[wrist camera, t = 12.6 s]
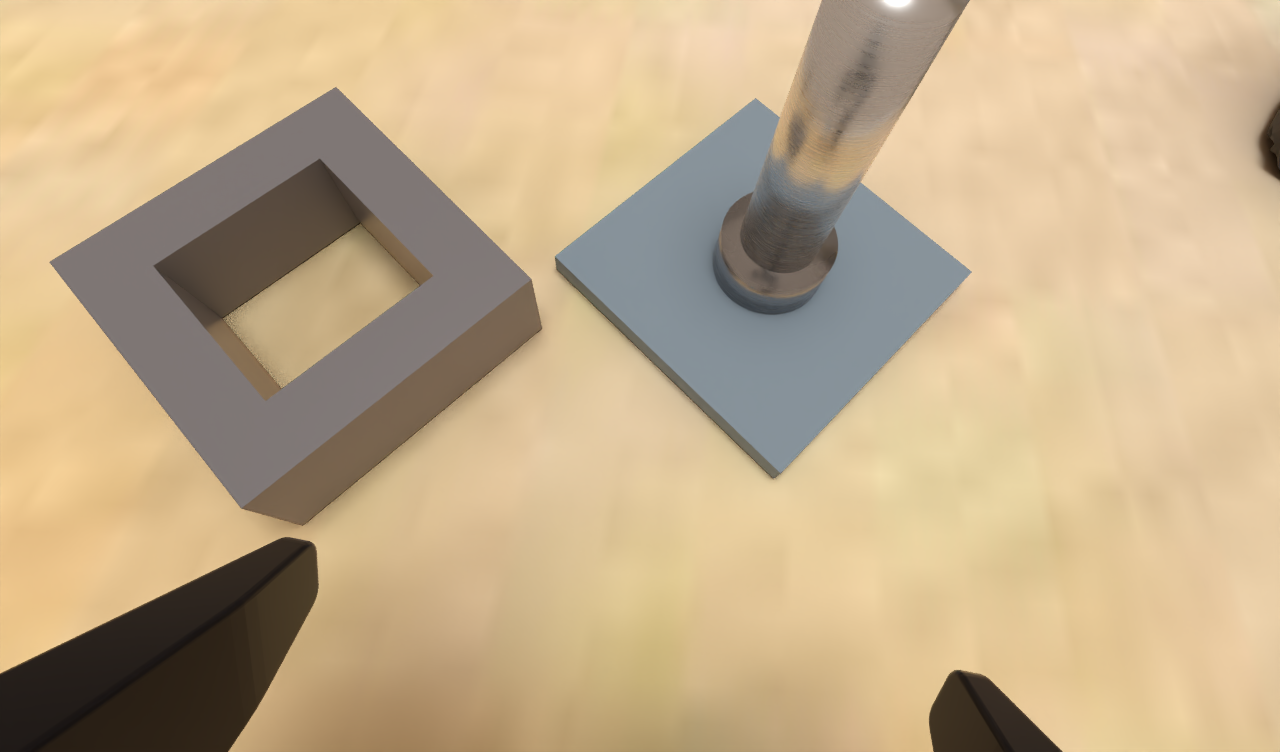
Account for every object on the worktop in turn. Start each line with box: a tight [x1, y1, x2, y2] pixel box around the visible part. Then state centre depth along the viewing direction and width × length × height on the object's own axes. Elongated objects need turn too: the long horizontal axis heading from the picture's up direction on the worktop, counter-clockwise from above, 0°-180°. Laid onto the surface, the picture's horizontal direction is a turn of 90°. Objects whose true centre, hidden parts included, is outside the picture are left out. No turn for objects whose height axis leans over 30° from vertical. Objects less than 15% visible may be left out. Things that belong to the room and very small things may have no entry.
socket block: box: [50, 87, 542, 525], centre depth 23 cm, size 11×11×4 cm
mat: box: [555, 98, 971, 479], centre depth 26 cm, size 12×12×1 cm
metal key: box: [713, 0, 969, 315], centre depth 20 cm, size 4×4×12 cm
